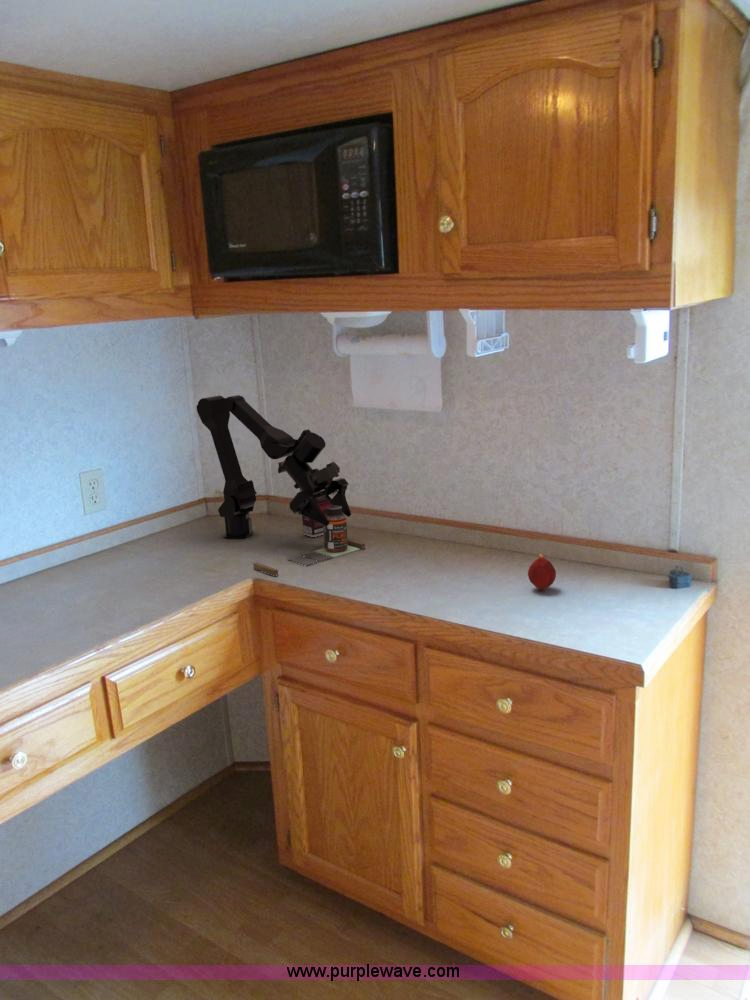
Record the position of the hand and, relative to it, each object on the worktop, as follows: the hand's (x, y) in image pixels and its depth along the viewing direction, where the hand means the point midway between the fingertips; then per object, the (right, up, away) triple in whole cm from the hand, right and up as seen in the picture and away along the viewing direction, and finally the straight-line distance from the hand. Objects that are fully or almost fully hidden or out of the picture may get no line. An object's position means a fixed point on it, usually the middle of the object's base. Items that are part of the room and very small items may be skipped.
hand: (339, 520), depth 210 cm
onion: (+45, -14, -33) cm, 57 cm away
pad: (-1, -8, +3) cm, 8 cm away
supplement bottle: (-1, -8, +3) cm, 8 cm away
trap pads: (-7, -10, -3) cm, 12 cm away
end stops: (-7, -10, -3) cm, 12 cm away
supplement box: (-6, -4, +20) cm, 21 cm away
